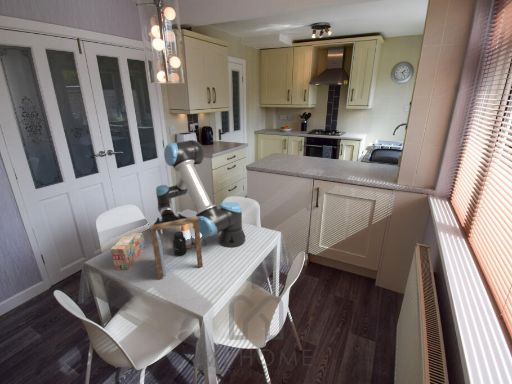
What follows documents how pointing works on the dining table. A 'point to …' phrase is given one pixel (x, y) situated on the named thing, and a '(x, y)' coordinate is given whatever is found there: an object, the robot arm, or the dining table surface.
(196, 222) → the door frame
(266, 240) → the dining table surface
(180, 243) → the supplement bottle
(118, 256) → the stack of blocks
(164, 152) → the robot arm
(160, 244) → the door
